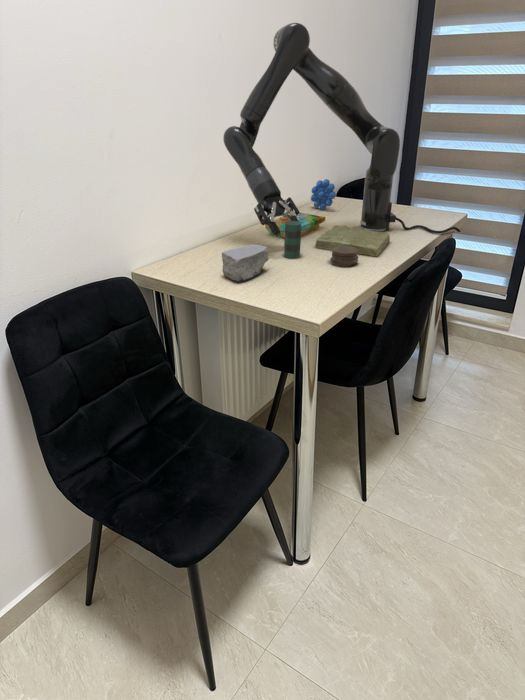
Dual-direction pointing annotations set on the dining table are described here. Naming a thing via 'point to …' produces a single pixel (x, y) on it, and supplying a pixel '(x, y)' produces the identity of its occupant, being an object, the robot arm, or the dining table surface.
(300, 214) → the puzzle game
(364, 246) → the decorative tile
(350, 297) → the dining table surface
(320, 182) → the grapes
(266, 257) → the decorative stone
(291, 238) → the chip column
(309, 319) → the dining table surface
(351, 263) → the chip pile
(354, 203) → the dining table surface
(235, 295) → the dining table surface
